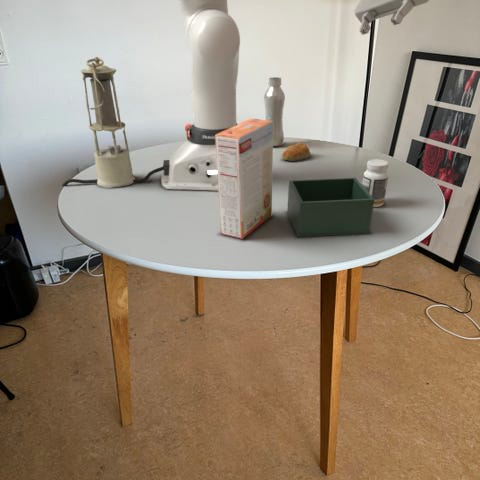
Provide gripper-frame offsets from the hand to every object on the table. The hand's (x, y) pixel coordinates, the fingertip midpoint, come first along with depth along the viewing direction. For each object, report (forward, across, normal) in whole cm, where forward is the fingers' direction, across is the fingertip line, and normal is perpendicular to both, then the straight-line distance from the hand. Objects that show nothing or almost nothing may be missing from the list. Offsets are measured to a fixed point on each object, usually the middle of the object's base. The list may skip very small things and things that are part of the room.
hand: (378, 27), depth 103 cm
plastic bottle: (+17, -48, +18) cm, 54 cm away
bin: (+44, +6, +8) cm, 45 cm away
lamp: (+56, -44, -24) cm, 75 cm away
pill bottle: (+33, +4, +20) cm, 38 cm away
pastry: (+21, -34, +18) cm, 44 cm away
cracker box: (+53, -2, -6) cm, 54 cm away
